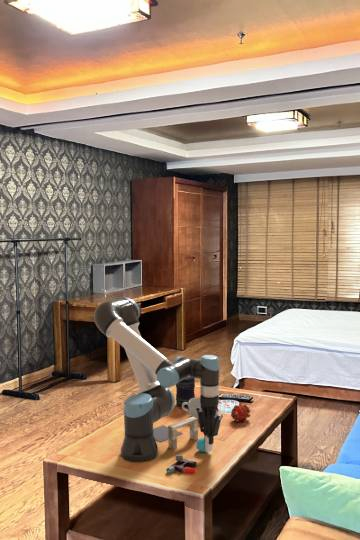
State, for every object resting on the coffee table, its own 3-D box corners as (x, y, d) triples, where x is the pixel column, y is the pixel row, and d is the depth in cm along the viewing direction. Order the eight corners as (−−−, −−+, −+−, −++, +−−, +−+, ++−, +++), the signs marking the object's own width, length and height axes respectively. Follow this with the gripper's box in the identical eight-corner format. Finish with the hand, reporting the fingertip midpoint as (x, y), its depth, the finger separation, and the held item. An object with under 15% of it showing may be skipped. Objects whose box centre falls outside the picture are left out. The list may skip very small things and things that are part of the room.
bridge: (198, 438, 232) (197, 418, 231) (173, 449, 222) (173, 427, 222) (193, 436, 234) (192, 416, 234) (168, 447, 225) (168, 425, 224)
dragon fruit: (248, 419, 257) (236, 431, 248) (235, 407, 261) (222, 418, 251) (257, 408, 253) (244, 420, 244) (243, 396, 256) (230, 407, 247)
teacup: (211, 413, 262) (211, 397, 262) (210, 421, 252) (210, 405, 251) (183, 412, 264) (183, 396, 263) (181, 421, 253) (180, 404, 252)
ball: (204, 444, 215) (194, 437, 219) (201, 456, 217) (192, 449, 221) (213, 440, 219) (204, 433, 223) (211, 452, 221) (201, 445, 224)
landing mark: (160, 442, 229) (160, 441, 229) (141, 433, 239) (141, 433, 239) (182, 433, 238) (182, 433, 238) (163, 425, 248) (163, 425, 248)
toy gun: (163, 474, 202) (163, 461, 201) (183, 462, 211) (183, 450, 211) (183, 481, 196) (183, 469, 195) (203, 469, 205) (203, 457, 205)
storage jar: (177, 401, 280) (177, 373, 279) (196, 401, 279) (195, 373, 278) (174, 407, 271) (174, 379, 269) (194, 408, 269) (193, 379, 268)
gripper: (227, 396, 212) (226, 453, 215) (204, 388, 222) (203, 443, 224) (214, 400, 207) (213, 459, 210) (191, 392, 217) (190, 448, 219)
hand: (208, 450), depth 217 cm, fingers closed
